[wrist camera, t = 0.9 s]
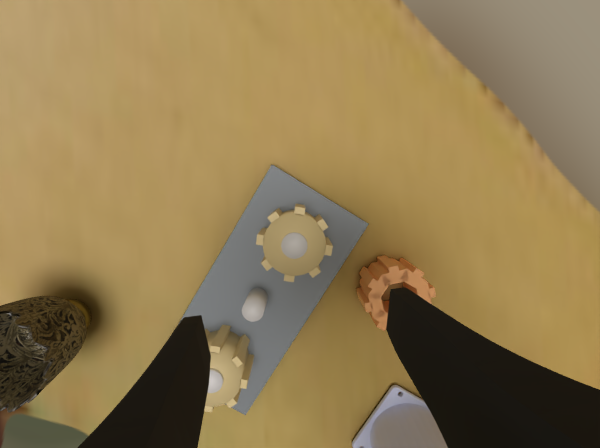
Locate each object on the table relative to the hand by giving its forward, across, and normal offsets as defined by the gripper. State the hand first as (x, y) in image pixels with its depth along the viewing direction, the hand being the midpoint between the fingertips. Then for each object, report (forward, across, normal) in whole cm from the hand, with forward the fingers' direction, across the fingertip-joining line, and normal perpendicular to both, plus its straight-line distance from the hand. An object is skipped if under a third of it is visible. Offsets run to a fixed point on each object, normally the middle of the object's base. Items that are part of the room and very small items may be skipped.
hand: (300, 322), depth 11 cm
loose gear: (+13, -10, +9) cm, 19 cm away
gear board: (+15, +2, +10) cm, 17 cm away
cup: (+17, +20, +11) cm, 28 cm away
